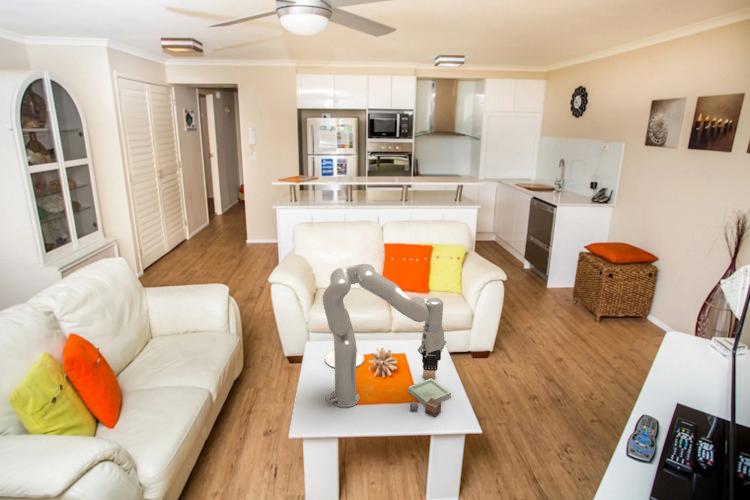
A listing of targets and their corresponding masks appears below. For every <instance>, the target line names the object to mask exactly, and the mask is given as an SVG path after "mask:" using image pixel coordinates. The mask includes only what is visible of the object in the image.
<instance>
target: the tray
mask: <svg viewBox="0 0 750 500" xmlns="http://www.w3.org/2000/svg"><path fill="white" fill-rule="evenodd" d="M407 388H408V389H407V393H409V394H410V395H411V396H413V397H414V398H415V399H416V400H417V401H419V403H421V404H422V405H423V406H425V407H426V403H427V402H428V401H429V400H430V399H431V398H433V399H435V400H438V401H440V402H443V401H446V400H448V399H450V398H451V397H452V392H450V391H449V390H448V389H447V388H445V387H444V385H441V384H440V383H439V382H437V381H436V380H433V379H432V378H431V379H428V380H423V381H421V382H417V383H415V384H413V385H410V386H408V387H407Z"/></svg>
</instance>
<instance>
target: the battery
mask: <svg viewBox="0 0 750 500" xmlns="http://www.w3.org/2000/svg"><path fill="white" fill-rule="evenodd" d="M424 353H426V351H425V352H424ZM427 357H428V365H425V364H424V363H423V362H422V370H423V369H424V370H427V371H436V372H437V370H438V368H439V367H438V365H439V360H438V359H439V350H436V351H433V352H430V353H428V355H427Z"/></svg>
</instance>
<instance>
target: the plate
mask: <svg viewBox="0 0 750 500" xmlns="http://www.w3.org/2000/svg"><path fill="white" fill-rule="evenodd" d="M324 361H325V363H326V364H327V365H328V366H329V367H331V368H334V369H335V353H334V350H331V351H330V352H327V354H326V355H325V357H324ZM364 361H365V355H364V354H363V353H362V352H361V351H359V350H357V356H356V368H357V367H359V366H362V364H363V363H364Z"/></svg>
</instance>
